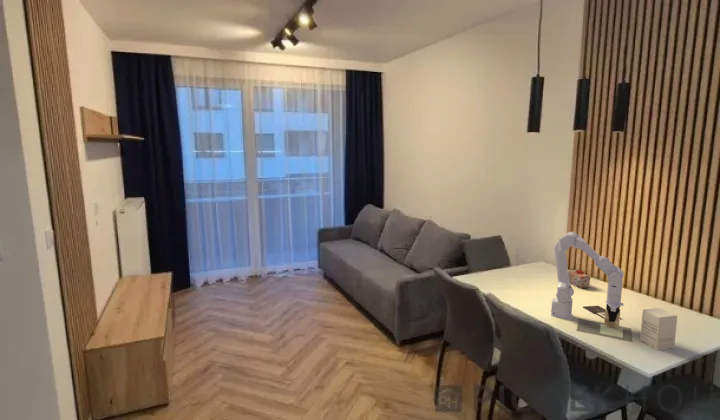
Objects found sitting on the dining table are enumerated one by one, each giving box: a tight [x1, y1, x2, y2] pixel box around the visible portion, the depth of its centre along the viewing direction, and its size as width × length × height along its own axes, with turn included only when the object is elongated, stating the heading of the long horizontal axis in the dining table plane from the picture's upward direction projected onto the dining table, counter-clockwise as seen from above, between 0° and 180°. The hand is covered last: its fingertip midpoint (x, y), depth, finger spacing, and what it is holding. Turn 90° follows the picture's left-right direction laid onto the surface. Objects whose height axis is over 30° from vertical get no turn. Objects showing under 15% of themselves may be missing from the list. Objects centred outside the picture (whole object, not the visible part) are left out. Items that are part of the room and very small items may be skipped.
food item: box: [568, 269, 591, 289], centre depth 251 cm, size 14×8×10 cm, turn 12°
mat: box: [576, 318, 633, 343], centre depth 190 cm, size 22×16×1 cm
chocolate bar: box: [582, 305, 623, 320], centre depth 209 cm, size 9×1×18 cm
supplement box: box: [639, 307, 678, 351], centre depth 175 cm, size 9×9×15 cm
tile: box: [603, 308, 621, 329], centre depth 192 cm, size 6×2×8 cm, turn 58°
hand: (612, 320), depth 192 cm, fingers closed on tile, 2 cm apart
